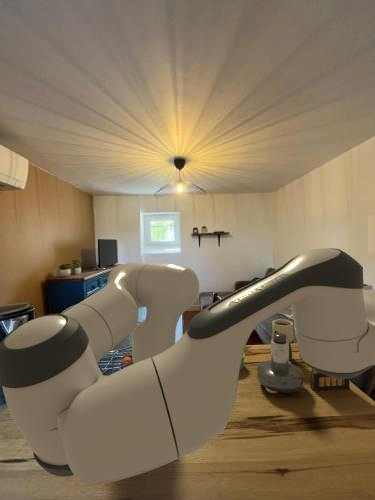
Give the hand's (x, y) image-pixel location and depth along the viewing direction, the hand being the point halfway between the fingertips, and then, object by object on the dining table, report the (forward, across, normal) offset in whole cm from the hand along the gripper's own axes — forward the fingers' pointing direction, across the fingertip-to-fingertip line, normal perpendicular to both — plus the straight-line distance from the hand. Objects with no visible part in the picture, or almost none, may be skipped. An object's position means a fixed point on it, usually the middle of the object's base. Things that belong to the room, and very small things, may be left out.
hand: (289, 289), depth 61 cm
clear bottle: (+12, +5, -27) cm, 30 cm away
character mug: (+27, +16, -32) cm, 45 cm away
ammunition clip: (+7, +18, -32) cm, 38 cm away
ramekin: (+27, -4, -32) cm, 42 cm away
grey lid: (+12, +5, -32) cm, 35 cm away
